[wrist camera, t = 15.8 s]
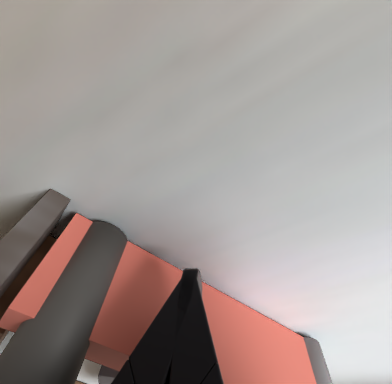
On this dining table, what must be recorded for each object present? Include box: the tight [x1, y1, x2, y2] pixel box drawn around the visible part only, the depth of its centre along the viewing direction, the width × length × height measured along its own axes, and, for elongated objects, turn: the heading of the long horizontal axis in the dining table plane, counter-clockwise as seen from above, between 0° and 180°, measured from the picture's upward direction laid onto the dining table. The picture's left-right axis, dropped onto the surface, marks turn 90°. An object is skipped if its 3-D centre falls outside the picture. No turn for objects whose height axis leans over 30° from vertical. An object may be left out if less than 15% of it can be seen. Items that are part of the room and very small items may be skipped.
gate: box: [0, 213, 332, 384], centre depth 10 cm, size 15×2×6 cm, turn 52°
